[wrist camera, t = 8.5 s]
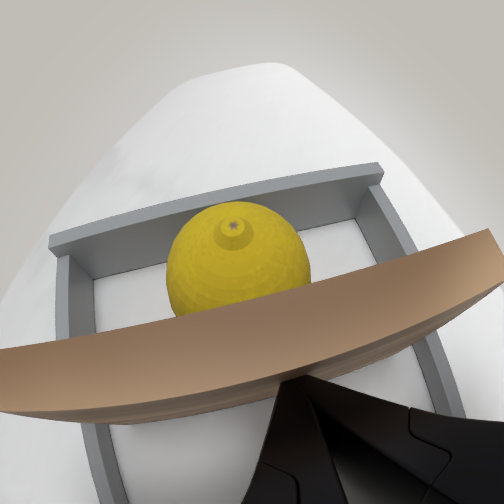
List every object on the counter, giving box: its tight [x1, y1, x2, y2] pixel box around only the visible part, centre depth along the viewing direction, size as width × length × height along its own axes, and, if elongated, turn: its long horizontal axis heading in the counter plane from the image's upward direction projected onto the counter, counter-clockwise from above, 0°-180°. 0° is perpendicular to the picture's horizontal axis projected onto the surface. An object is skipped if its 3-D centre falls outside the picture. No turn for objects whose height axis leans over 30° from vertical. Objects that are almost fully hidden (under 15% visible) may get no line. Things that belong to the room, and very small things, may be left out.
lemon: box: [166, 201, 311, 317], centre depth 12 cm, size 6×6×8 cm
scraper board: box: [0, 229, 504, 425], centre depth 10 cm, size 2×14×9 cm, turn 105°
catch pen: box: [48, 162, 466, 504], centre depth 11 cm, size 21×18×4 cm
